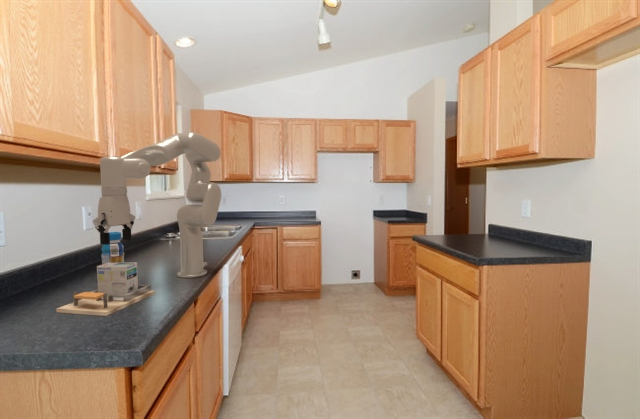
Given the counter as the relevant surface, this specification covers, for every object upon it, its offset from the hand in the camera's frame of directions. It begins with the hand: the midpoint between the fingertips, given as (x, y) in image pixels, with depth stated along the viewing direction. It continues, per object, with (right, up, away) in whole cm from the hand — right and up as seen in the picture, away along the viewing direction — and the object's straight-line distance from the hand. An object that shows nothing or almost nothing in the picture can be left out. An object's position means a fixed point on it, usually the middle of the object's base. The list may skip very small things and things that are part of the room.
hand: (116, 242), depth 115 cm
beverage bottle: (-18, -19, +28) cm, 38 cm away
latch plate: (-2, -16, -10) cm, 20 cm away
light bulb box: (0, -19, +1) cm, 19 cm away
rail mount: (-1, -20, -2) cm, 20 cm away
